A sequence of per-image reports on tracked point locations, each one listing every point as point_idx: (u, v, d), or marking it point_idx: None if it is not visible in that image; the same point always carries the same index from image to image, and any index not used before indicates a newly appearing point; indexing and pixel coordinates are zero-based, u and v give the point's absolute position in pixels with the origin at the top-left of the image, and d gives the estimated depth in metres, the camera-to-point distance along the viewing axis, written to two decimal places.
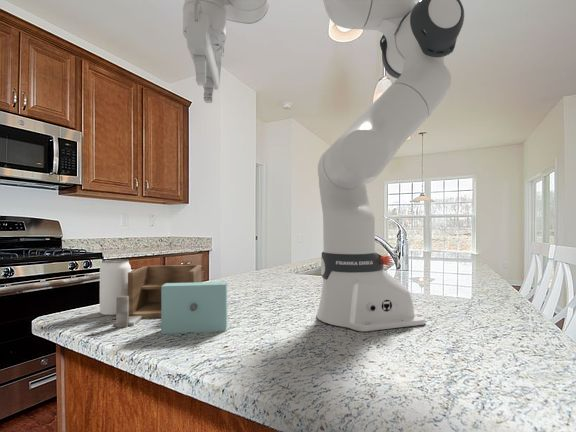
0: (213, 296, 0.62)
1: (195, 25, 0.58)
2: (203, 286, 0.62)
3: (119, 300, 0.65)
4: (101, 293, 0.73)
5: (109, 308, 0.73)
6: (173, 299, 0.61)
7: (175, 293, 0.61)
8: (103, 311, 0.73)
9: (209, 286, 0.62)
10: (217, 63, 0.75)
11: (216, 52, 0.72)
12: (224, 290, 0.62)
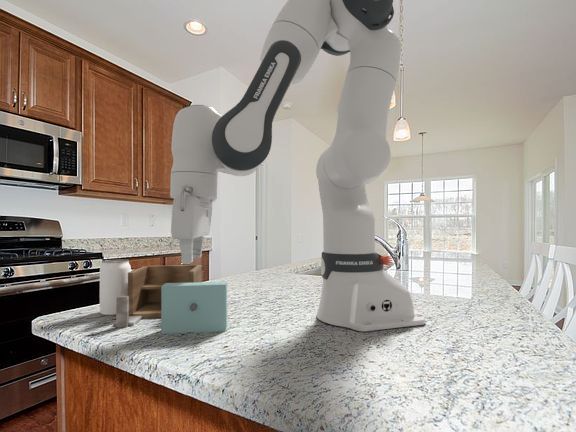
0: (213, 296, 0.62)
1: (181, 216, 0.54)
2: (203, 286, 0.62)
3: (119, 300, 0.65)
4: (101, 293, 0.73)
5: (109, 308, 0.73)
6: (173, 299, 0.61)
7: (175, 293, 0.61)
8: (103, 311, 0.73)
9: (209, 286, 0.62)
10: (208, 211, 0.71)
11: (206, 207, 0.67)
12: (224, 290, 0.62)
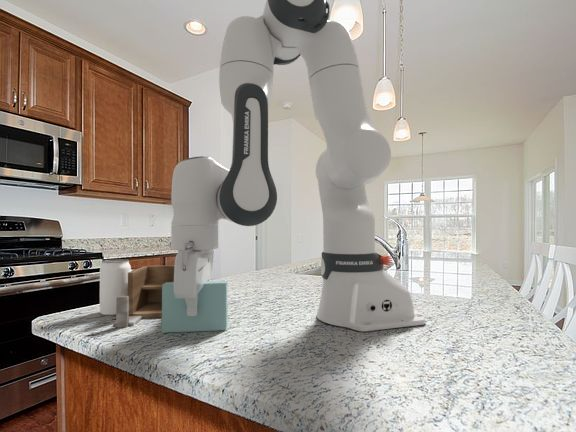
0: (213, 294, 0.63)
1: (183, 275, 0.53)
2: None
3: (119, 300, 0.65)
4: (101, 293, 0.73)
5: (109, 308, 0.73)
6: (173, 297, 0.62)
7: None
8: (103, 311, 0.73)
9: (209, 285, 0.63)
10: None
11: None
12: (224, 289, 0.63)
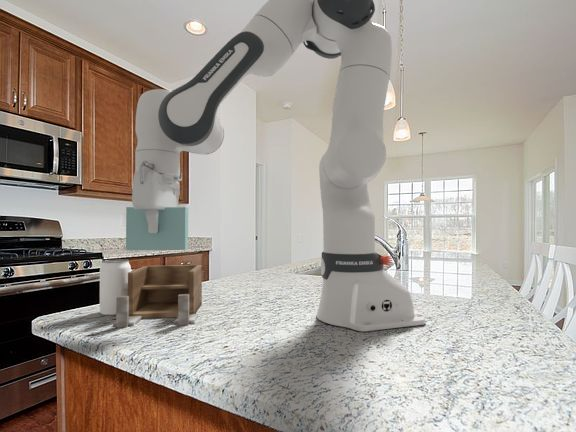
0: (173, 217, 0.68)
1: (140, 188, 0.59)
2: None
3: (119, 300, 0.65)
4: (101, 293, 0.73)
5: (109, 308, 0.73)
6: (137, 219, 0.68)
7: (139, 214, 0.68)
8: (103, 311, 0.73)
9: (170, 208, 0.68)
10: (174, 189, 0.77)
11: (171, 185, 0.73)
12: (184, 212, 0.69)
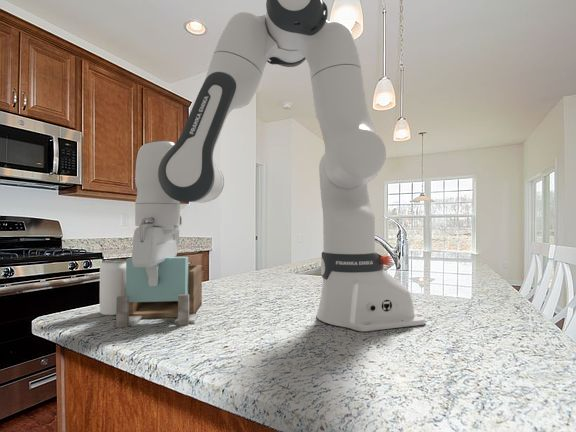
0: (173, 268, 0.68)
1: (140, 246, 0.59)
2: None
3: (119, 300, 0.65)
4: (101, 293, 0.73)
5: (109, 308, 0.73)
6: (137, 270, 0.68)
7: None
8: (103, 311, 0.73)
9: (170, 259, 0.68)
10: (174, 234, 0.76)
11: None
12: (184, 263, 0.68)
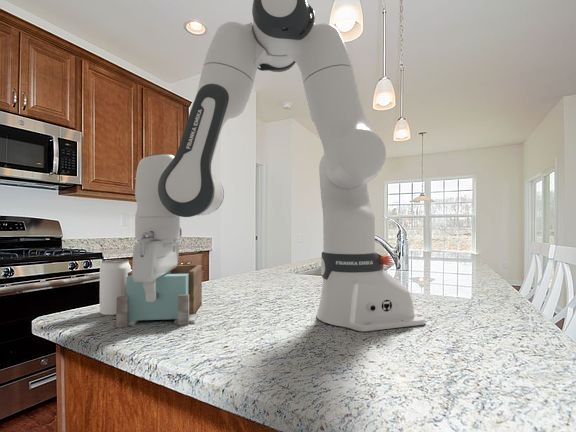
0: (174, 286, 0.68)
1: (140, 261, 0.59)
2: (165, 277, 0.68)
3: (119, 300, 0.65)
4: (101, 293, 0.73)
5: (109, 308, 0.73)
6: (137, 289, 0.67)
7: (139, 284, 0.67)
8: (103, 311, 0.73)
9: (170, 277, 0.68)
10: (174, 246, 0.76)
11: None
12: (184, 281, 0.68)
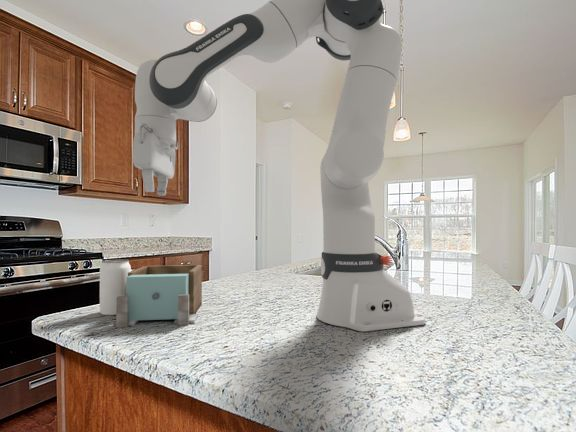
0: (174, 286, 0.68)
1: (140, 147, 0.65)
2: (165, 277, 0.68)
3: (119, 300, 0.65)
4: (101, 293, 0.73)
5: (109, 308, 0.73)
6: (137, 289, 0.67)
7: (139, 284, 0.67)
8: (103, 311, 0.73)
9: (170, 277, 0.68)
10: (171, 156, 0.82)
11: (168, 151, 0.78)
12: (184, 281, 0.68)
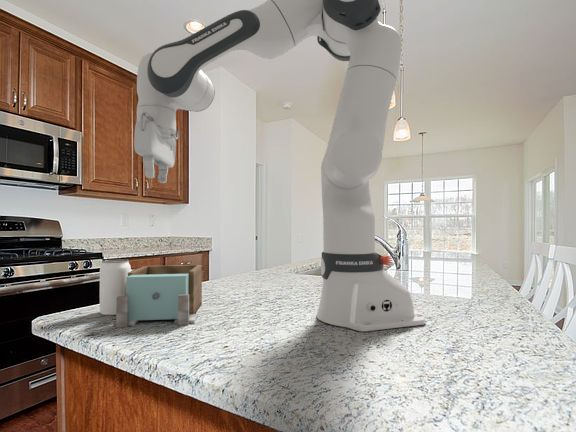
0: (174, 286, 0.68)
1: (141, 134, 0.69)
2: (165, 277, 0.68)
3: (119, 300, 0.65)
4: (101, 293, 0.73)
5: (109, 308, 0.73)
6: (137, 289, 0.67)
7: (139, 284, 0.67)
8: (103, 311, 0.73)
9: (170, 277, 0.68)
10: (171, 146, 0.86)
11: (168, 140, 0.82)
12: (184, 281, 0.68)
